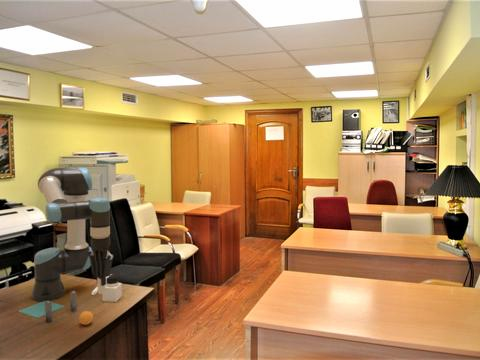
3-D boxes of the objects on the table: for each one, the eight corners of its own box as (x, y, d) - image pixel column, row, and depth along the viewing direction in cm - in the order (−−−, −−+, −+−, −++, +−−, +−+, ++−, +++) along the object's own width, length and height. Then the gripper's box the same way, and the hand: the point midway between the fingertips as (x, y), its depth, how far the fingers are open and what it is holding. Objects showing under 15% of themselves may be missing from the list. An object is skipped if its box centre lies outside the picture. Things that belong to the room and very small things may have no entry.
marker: (94, 296, 196) (94, 292, 196) (90, 296, 196) (90, 292, 195) (104, 284, 214) (104, 279, 214) (100, 284, 214) (100, 280, 213)
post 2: (69, 311, 178) (68, 292, 177) (74, 308, 180) (73, 290, 180) (73, 312, 177) (72, 293, 176) (77, 310, 179) (77, 291, 178)
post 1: (44, 321, 167) (43, 301, 166) (49, 319, 169) (48, 299, 169) (48, 323, 166) (47, 302, 165) (53, 320, 168) (52, 300, 167)
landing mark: (17, 311, 177) (17, 310, 177) (45, 300, 189) (45, 300, 189) (37, 318, 170) (37, 317, 170) (64, 306, 183) (64, 306, 183)
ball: (76, 325, 165) (76, 312, 164) (87, 320, 169) (86, 308, 169) (85, 328, 162) (85, 315, 161) (95, 323, 167) (95, 310, 166)
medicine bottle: (122, 296, 196) (121, 273, 195) (116, 302, 189) (115, 278, 188) (108, 295, 197) (108, 272, 196) (102, 301, 190) (101, 277, 188)
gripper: (119, 236, 158) (119, 292, 160) (96, 232, 164) (97, 286, 166) (104, 240, 151) (105, 298, 153) (81, 236, 157) (83, 292, 159)
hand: (101, 292), depth 160 cm, fingers closed
